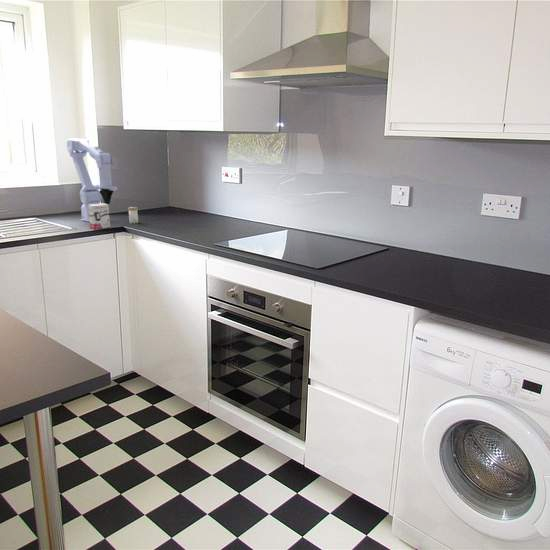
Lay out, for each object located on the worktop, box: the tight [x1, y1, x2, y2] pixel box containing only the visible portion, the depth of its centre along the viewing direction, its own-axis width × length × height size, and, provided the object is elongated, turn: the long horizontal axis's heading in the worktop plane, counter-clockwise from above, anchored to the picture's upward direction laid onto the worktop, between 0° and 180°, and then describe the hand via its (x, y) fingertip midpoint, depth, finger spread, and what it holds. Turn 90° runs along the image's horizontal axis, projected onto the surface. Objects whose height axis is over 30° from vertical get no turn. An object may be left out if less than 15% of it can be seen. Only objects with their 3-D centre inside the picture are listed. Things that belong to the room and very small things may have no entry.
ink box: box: [88, 202, 111, 230], centre depth 263 cm, size 8×5×12 cm, turn 134°
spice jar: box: [127, 206, 139, 224], centre depth 279 cm, size 5×5×8 cm
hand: (107, 204), depth 273 cm, fingers closed
